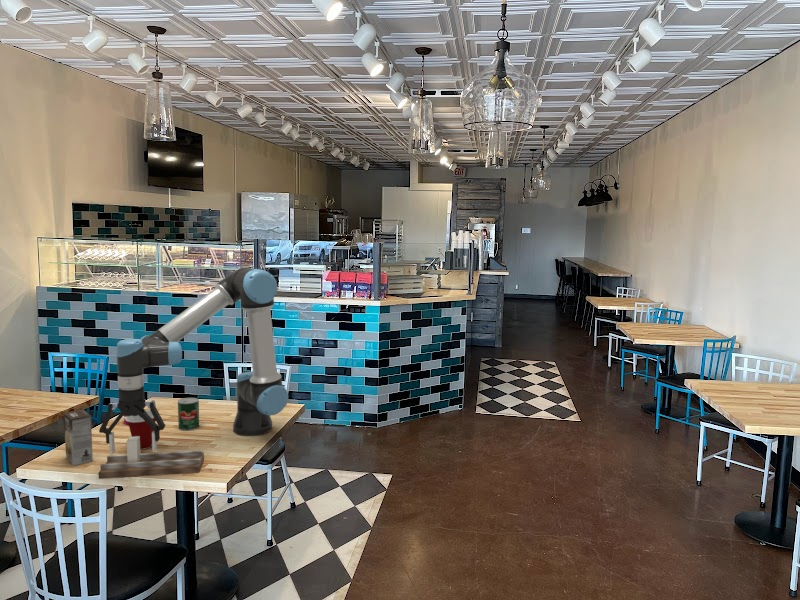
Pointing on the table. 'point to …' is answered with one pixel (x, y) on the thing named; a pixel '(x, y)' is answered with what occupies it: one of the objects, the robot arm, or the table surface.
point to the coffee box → (78, 437)
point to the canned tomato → (188, 413)
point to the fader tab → (133, 449)
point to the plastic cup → (141, 429)
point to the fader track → (152, 464)
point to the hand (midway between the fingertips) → (133, 451)
